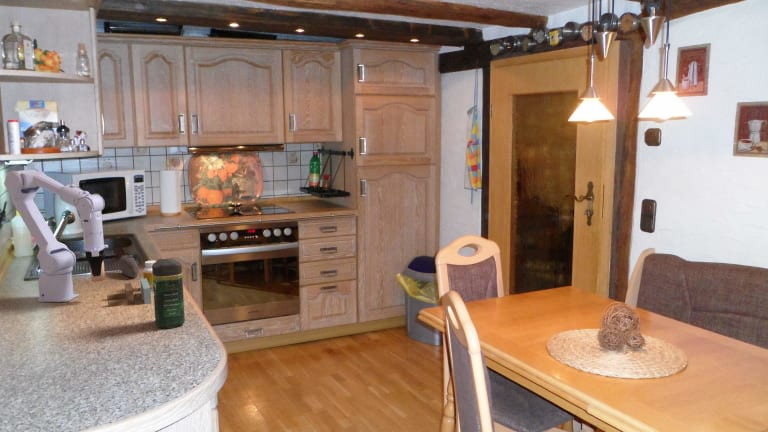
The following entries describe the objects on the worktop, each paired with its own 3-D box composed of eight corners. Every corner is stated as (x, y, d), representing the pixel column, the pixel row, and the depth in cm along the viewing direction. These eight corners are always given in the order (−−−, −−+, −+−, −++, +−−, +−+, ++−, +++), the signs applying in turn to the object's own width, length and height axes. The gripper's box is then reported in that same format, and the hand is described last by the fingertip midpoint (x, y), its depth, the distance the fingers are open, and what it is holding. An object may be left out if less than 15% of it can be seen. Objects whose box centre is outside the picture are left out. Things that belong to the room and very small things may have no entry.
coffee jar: (187, 326, 171) (183, 261, 169) (157, 330, 168) (153, 265, 165) (182, 316, 180) (178, 255, 177) (154, 320, 177) (149, 258, 174)
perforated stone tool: (142, 279, 226) (141, 260, 225) (127, 281, 223) (126, 262, 222) (133, 271, 238) (131, 253, 237) (118, 273, 235) (117, 255, 234)
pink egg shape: (89, 281, 194) (87, 263, 193) (94, 278, 198) (93, 260, 197) (101, 281, 194) (100, 263, 193) (107, 278, 198) (105, 260, 197)
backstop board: (144, 304, 193) (143, 288, 193) (141, 293, 206) (140, 279, 205) (151, 303, 194) (150, 288, 193) (147, 292, 207) (146, 278, 206)
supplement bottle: (155, 291, 208) (153, 263, 207) (141, 290, 209) (139, 263, 208) (164, 287, 213) (162, 260, 212) (150, 286, 214) (148, 259, 213)
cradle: (108, 306, 191) (107, 292, 190) (107, 299, 199) (106, 285, 199) (134, 303, 194) (133, 289, 193) (132, 296, 202) (131, 283, 202)
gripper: (108, 235, 189) (111, 277, 191) (105, 228, 202) (108, 268, 204) (82, 237, 186) (86, 280, 188) (82, 230, 199) (85, 270, 201)
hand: (96, 274), depth 196 cm, fingers closed on pink egg shape, 4 cm apart
